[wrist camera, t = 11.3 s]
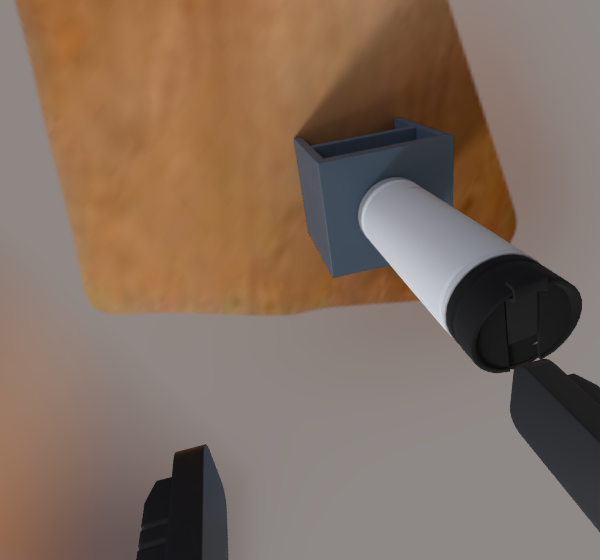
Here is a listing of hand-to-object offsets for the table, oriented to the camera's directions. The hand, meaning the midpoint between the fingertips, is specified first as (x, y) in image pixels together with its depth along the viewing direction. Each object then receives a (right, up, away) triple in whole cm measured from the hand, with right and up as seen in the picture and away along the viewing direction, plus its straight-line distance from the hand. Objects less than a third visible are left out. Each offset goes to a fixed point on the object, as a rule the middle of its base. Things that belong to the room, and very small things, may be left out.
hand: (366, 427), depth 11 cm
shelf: (+4, +15, +39) cm, 42 cm away
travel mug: (+6, +10, +28) cm, 31 cm away
